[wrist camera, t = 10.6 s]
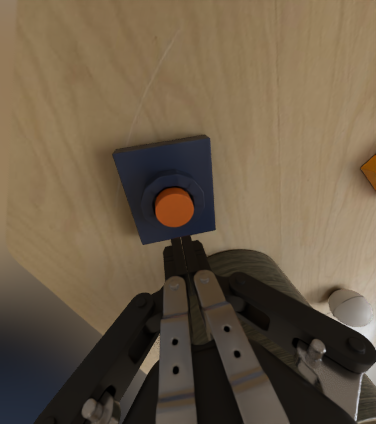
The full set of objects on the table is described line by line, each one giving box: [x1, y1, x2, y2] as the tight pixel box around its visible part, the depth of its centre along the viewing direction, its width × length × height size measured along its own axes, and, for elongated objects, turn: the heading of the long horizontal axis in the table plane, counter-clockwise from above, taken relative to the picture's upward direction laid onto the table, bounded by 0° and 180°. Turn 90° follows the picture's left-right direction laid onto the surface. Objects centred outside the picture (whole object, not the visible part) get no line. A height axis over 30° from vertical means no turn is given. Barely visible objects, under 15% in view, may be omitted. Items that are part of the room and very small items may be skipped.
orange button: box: [155, 187, 194, 227], centre depth 20 cm, size 4×4×2 cm
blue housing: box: [112, 135, 216, 245], centre depth 22 cm, size 12×10×4 cm
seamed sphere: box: [325, 289, 373, 327], centre depth 41 cm, size 10×7×7 cm
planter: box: [187, 250, 376, 424], centre depth 28 cm, size 22×22×20 cm
